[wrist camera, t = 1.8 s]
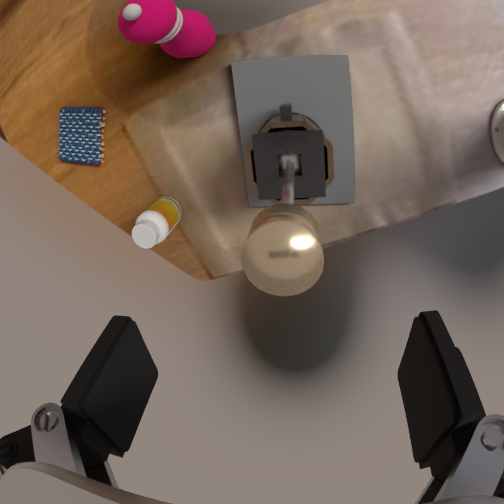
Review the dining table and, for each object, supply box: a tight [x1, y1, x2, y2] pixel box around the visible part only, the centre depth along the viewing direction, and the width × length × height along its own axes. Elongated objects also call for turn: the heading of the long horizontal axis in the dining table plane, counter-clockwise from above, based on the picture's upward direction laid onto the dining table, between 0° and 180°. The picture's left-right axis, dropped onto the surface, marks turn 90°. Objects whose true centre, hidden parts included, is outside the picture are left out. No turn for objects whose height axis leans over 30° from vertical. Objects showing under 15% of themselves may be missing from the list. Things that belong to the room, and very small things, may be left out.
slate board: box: [231, 55, 355, 207], centre depth 41 cm, size 16×22×1 cm
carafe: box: [245, 103, 334, 205], centre depth 36 cm, size 10×11×12 cm
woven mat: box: [58, 107, 106, 166], centre depth 44 cm, size 10×11×2 cm
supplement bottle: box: [132, 196, 182, 249], centre depth 46 cm, size 5×5×10 cm
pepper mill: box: [118, 0, 216, 58], centre depth 27 cm, size 7×7×20 cm
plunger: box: [242, 130, 324, 296], centre depth 23 cm, size 7×7×21 cm
